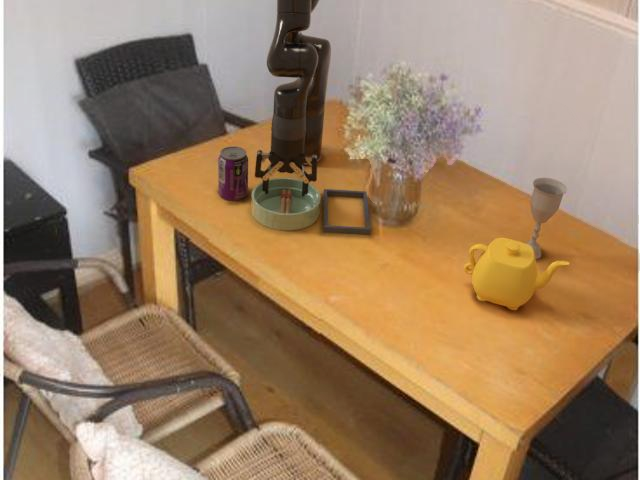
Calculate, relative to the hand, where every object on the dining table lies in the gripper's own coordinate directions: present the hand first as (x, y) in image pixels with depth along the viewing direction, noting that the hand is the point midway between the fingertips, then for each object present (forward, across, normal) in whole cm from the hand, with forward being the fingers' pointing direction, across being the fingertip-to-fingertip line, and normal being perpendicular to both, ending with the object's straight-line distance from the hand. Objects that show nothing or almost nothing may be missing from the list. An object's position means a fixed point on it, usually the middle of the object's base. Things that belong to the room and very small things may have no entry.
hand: (284, 193), depth 171 cm
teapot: (+6, -49, +26) cm, 55 cm away
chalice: (+6, -57, +10) cm, 58 cm away
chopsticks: (+5, 0, 0) cm, 5 cm away
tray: (+6, -15, -1) cm, 16 cm away
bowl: (+6, 0, 0) cm, 6 cm away
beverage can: (+6, +13, -7) cm, 15 cm away
